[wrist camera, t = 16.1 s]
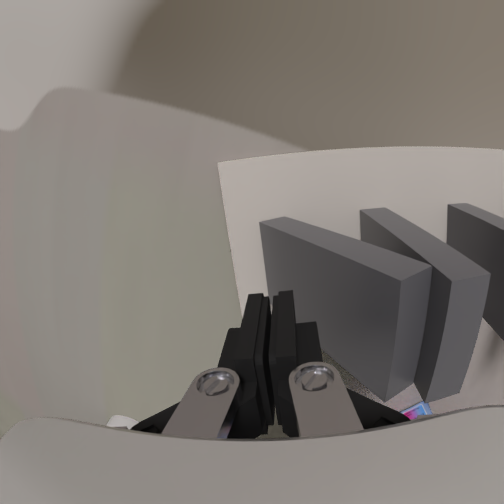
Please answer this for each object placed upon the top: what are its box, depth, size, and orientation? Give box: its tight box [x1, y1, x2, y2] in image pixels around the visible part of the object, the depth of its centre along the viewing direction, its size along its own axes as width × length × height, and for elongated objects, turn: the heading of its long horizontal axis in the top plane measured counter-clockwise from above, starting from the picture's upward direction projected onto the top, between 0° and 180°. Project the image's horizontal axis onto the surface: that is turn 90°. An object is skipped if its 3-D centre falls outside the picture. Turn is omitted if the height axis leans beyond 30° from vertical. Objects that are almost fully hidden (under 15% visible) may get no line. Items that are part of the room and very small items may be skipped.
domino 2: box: [360, 207, 491, 403], centre depth 13 cm, size 2×5×10 cm, turn 7°
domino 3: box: [446, 203, 504, 340], centre depth 12 cm, size 2×5×10 cm, turn 8°
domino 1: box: [259, 216, 432, 402], centre depth 13 cm, size 2×5×10 cm, turn 7°
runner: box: [218, 146, 504, 318], centre depth 16 cm, size 12×35×1 cm, turn 98°
